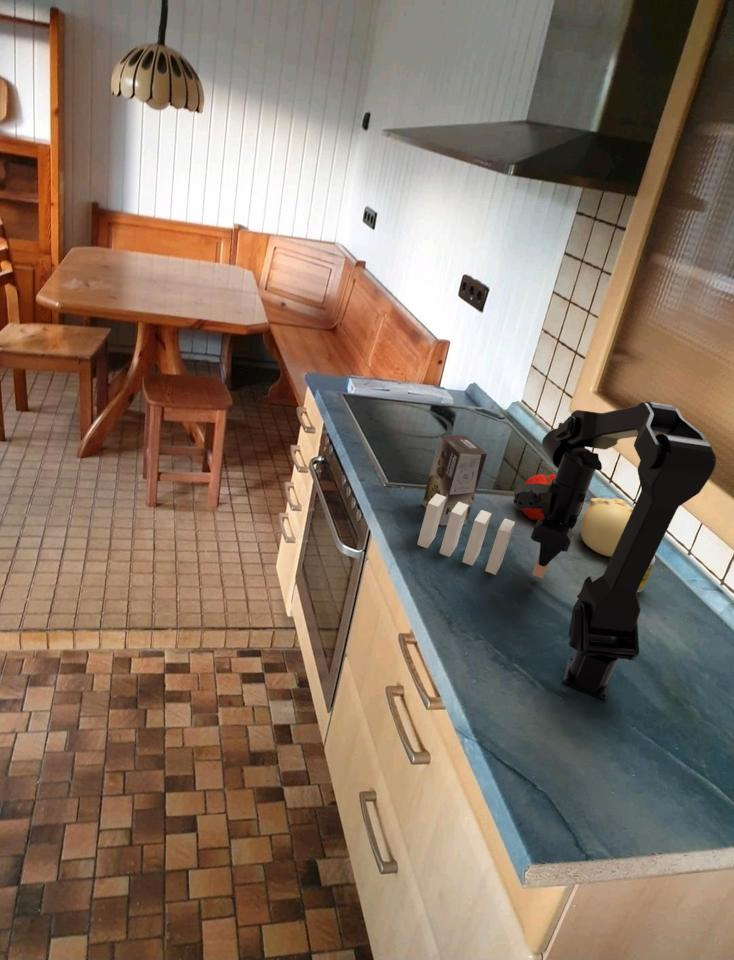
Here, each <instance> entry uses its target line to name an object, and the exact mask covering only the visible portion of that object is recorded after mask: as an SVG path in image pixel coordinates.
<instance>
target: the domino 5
mask: <svg viewBox="0 0 734 960" xmlns="http://www.w3.org/2000/svg"><path fill="white" fill-rule="evenodd" d="M560 524H561V523H560ZM539 555H540V553H539V554H538V557H537V560H536V562H535V566H534V568H533V571H532V575H533V576H534V577H537V578H540V579H544V577H545V575H546V572H547V569H548V567H549V564H550V562H549V563H548V564H547V565H546V566H545V567H543V566H541V565H539Z"/></svg>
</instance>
